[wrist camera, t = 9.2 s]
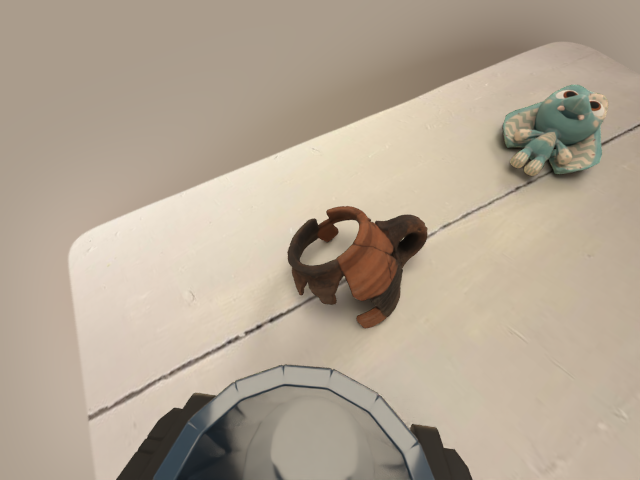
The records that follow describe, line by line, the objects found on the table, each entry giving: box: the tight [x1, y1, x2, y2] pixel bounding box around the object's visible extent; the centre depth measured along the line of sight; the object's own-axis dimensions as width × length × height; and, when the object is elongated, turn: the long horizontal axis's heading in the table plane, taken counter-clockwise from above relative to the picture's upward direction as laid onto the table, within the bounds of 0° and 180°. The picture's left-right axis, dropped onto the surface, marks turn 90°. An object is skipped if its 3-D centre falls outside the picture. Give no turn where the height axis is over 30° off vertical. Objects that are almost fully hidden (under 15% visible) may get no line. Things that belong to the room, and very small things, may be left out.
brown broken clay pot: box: [288, 206, 427, 328], centre depth 27 cm, size 12×10×8 cm
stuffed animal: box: [503, 85, 608, 176], centre depth 33 cm, size 11×7×12 cm
